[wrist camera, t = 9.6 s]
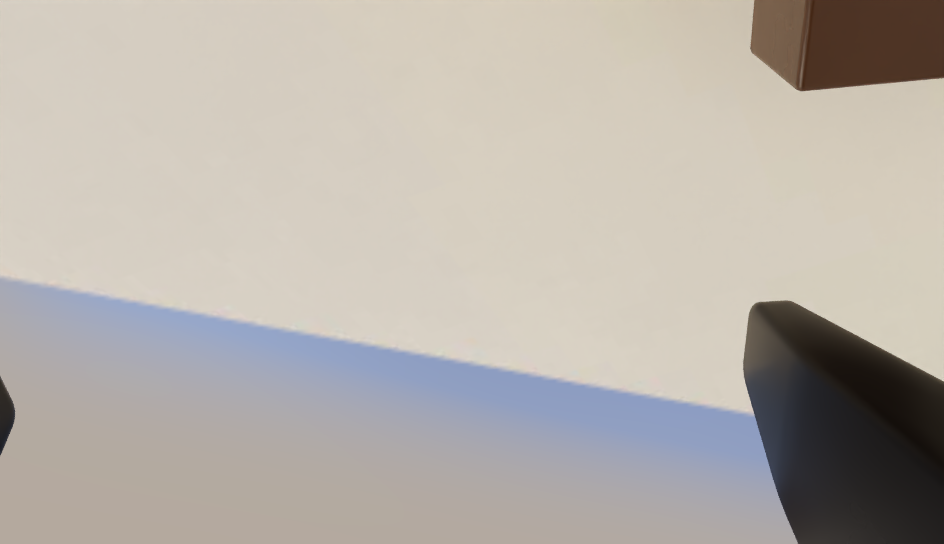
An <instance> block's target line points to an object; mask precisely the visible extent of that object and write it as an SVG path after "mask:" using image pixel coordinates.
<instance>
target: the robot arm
mask: <svg viewBox="0 0 944 544" xmlns="http://www.w3.org/2000/svg"><path fill="white" fill-rule="evenodd" d="M743 370H744V378H745V383H746V387H747V390H748V394H749V397H750V400H751V404H752V407H753V411H754V414H755V418H756V421H757V425H758V428H759V432H760V435H761V438H762V442H763V445H764V449H765V452H766V456H767V459H768V462H769V466H770V469H771V473H772V476H773V480H774V483H775V486H776V489H777V492H778V496H779V498H780V501H781V503H782V506H783V509H784V511H785V514H786V516H787V519H788V521H789V523H790V525H791V528H792V530H793V533H794V535H795V537H796V539H797V542H798V544H944V382H943V381H942V380H940V379H938V378H936V377H934V376H932V375H930V374H928V373H926V372H925V371H923V370H921V369H919V368H917V367H915V366H913V365H911V364H909V363H908V362H906V361H904V360H902V359H900V358H898V357H896V356H894V355H892V354H890V353H889V352H887V351H885V350H883V349H881V348H879V347H877V346H875V345H873V344H872V343H870V342H868V341H866V340H864V339H862V338H860V337H858V336H856V335H855V334H853V333H851V332H849V331H847V330H845V329H843V328H841V327H839V326H838V325H836V324H834V323H832V322H830V321H828V320H826V319H824V318H822V317H821V316H819V315H817V314H815V313H813V312H811V311H809V310H807V309H805V308H804V307H802V306H800V305H798V304H796V303H794V302H792V301H786V300H785V301H770V302H758V303H755V304H754V305H753V306H752V308H751V310H750V313H749V318H748V326H747V335H746V344H745V352H744V361H743ZM14 419H15V409H14V404H13V401H12V399H11V397H10V395H9V393H8V391H7V389H6V387H5V385H4V383H3V381H2V379H1V377H0V455H1V453H2V450H3V448H4V446H5V443H6V441H7V438H8V436H9V434H10V431H11V429H12V427H13V424H14Z"/></svg>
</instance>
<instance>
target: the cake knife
mask: <svg viewBox="0 0 944 544" xmlns="http://www.w3.org/2000/svg"><path fill="white" fill-rule="evenodd" d="M750 49H751V52H752V53H753V54H754V55H755V56H757V57H758V58H759V59H760V60H761V61H763V62H764V63H765V64H766V65H767V66H769V67H770V68H771V69H772V70H773V71H775V72H776V73H777V74H778V75H780V76H781V77H782V78H783V79H784V80H786V81H787V82H788V83H789V84H790V85H792V86H793V87H794V88H795V89H796V90H799V91H810V90H821V89H831V88H842V87H853V86H864V85H874V84H885V83H896V82H906V81H917V80H928V79H939V78H944V0H754V12H753V24H752V36H751V48H750Z"/></svg>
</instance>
